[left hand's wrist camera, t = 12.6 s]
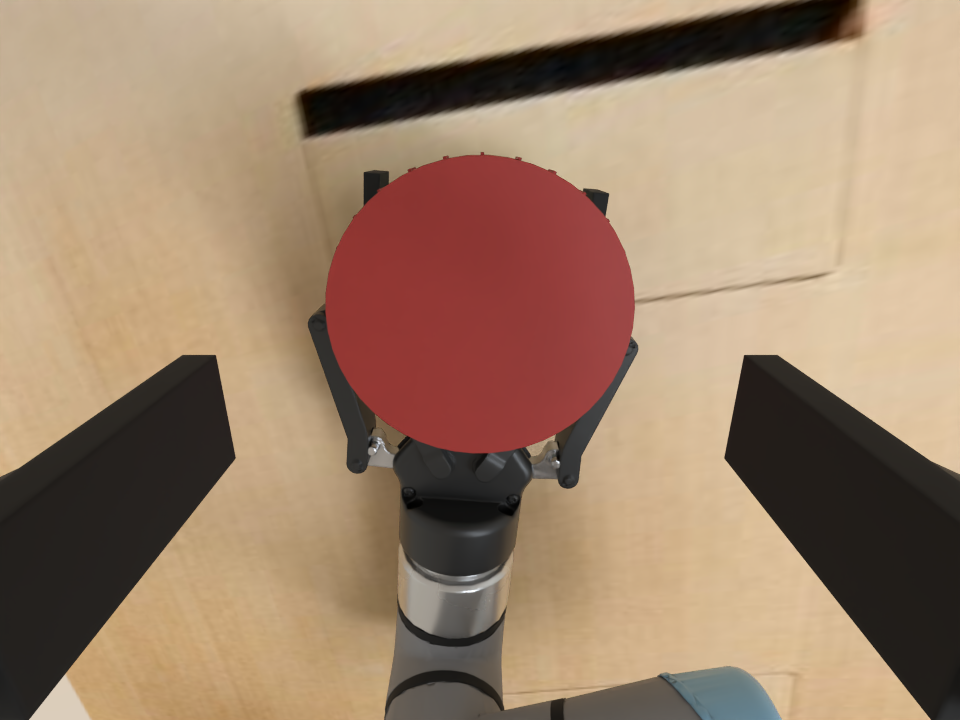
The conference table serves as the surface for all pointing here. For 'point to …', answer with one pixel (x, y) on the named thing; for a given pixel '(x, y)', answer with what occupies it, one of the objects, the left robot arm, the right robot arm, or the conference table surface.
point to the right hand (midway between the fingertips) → (486, 181)
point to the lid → (480, 304)
